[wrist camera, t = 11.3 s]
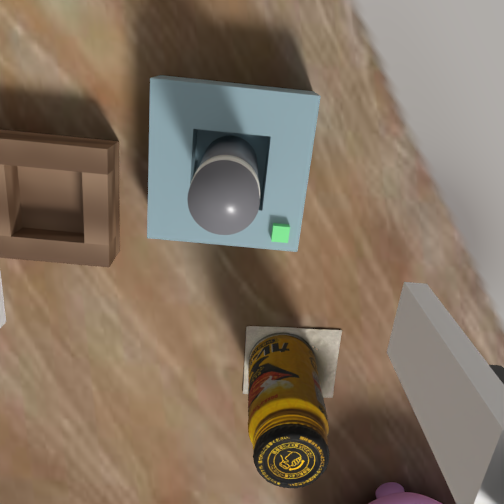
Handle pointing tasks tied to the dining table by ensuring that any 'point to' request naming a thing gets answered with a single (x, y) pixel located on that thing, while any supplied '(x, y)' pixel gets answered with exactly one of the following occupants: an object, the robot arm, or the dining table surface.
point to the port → (235, 124)
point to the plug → (225, 187)
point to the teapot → (399, 496)
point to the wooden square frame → (59, 198)
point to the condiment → (289, 400)
